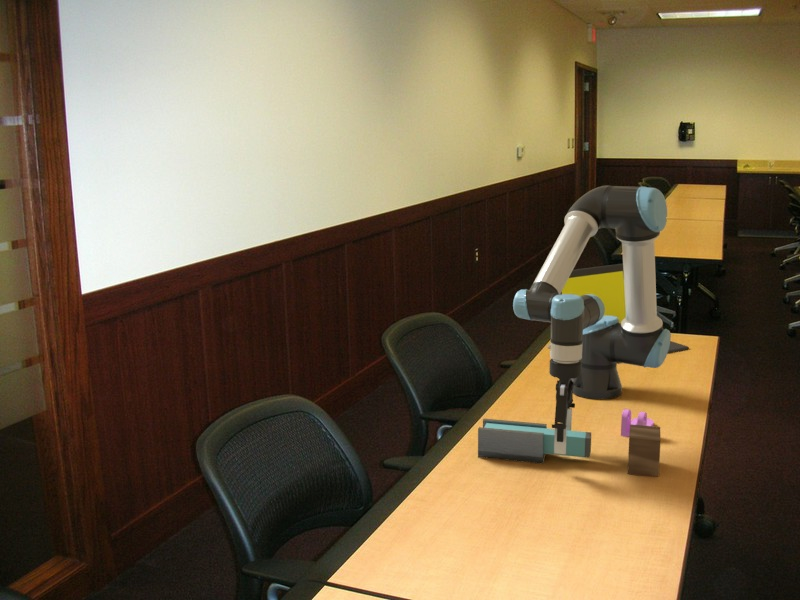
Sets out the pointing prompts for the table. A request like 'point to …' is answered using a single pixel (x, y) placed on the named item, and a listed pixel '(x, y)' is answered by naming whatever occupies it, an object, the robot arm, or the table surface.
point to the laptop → (605, 291)
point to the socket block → (644, 450)
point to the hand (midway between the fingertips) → (562, 443)
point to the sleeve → (511, 442)
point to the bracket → (633, 421)
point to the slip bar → (575, 440)
